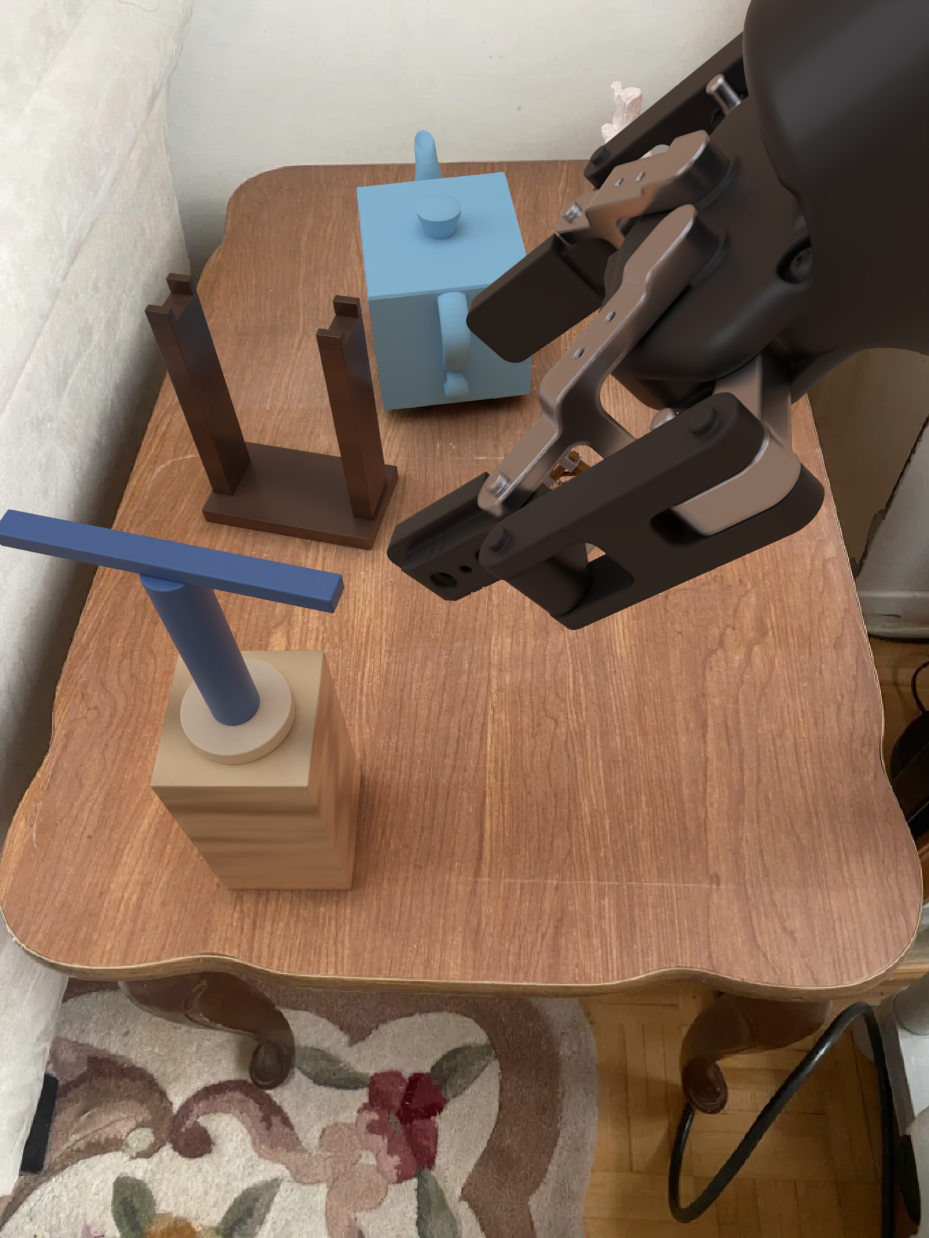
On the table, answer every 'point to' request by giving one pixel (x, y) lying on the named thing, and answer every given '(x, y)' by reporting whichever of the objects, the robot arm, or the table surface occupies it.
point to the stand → (274, 476)
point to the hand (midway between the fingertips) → (455, 442)
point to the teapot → (437, 282)
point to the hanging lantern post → (571, 464)
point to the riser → (270, 789)
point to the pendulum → (198, 623)
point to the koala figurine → (623, 110)
